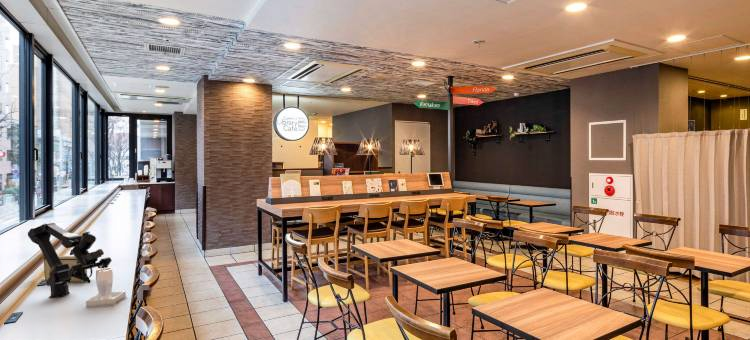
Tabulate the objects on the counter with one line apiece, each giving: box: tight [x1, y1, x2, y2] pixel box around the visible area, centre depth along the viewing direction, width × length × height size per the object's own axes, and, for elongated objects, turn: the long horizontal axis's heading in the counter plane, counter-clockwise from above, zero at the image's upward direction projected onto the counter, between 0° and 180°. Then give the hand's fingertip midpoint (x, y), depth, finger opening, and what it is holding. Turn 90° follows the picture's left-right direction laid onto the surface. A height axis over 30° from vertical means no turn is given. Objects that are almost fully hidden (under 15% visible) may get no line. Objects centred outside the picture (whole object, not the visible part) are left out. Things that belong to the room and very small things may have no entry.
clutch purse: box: [43, 255, 93, 283], centre depth 236 cm, size 30×7×15 cm, turn 81°
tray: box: [85, 290, 127, 308], centre depth 198 cm, size 12×12×3 cm
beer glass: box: [95, 267, 114, 300], centre depth 197 cm, size 7×7×15 cm
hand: (99, 279), depth 199 cm, fingers open, 9 cm apart
